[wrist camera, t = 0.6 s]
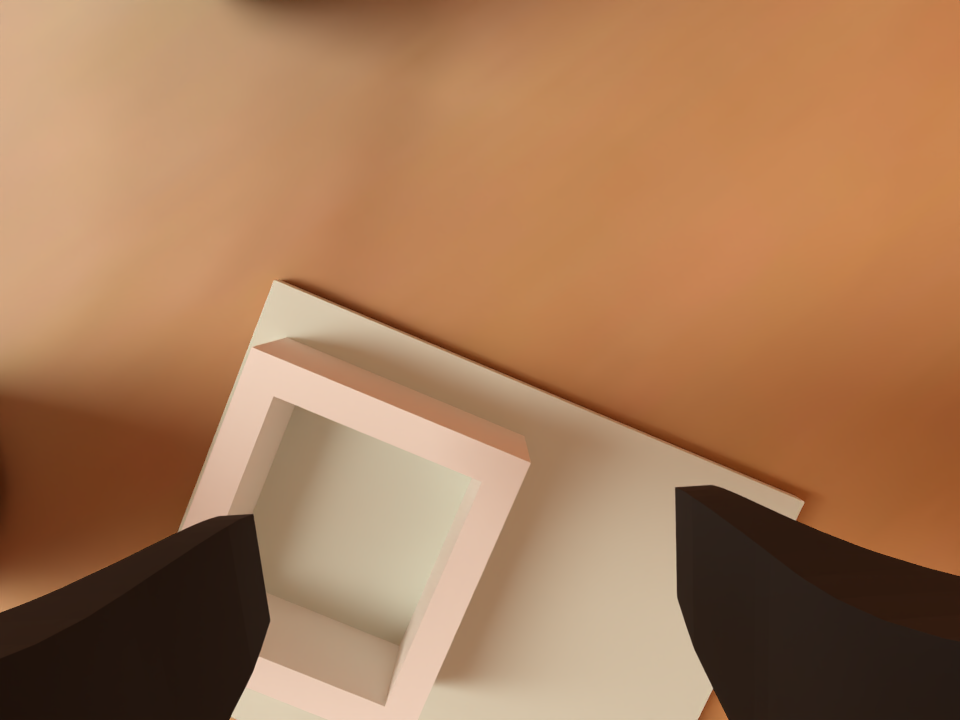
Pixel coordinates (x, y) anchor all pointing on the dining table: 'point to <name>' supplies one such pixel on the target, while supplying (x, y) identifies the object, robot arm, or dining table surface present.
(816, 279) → the dining table surface
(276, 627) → the well board
